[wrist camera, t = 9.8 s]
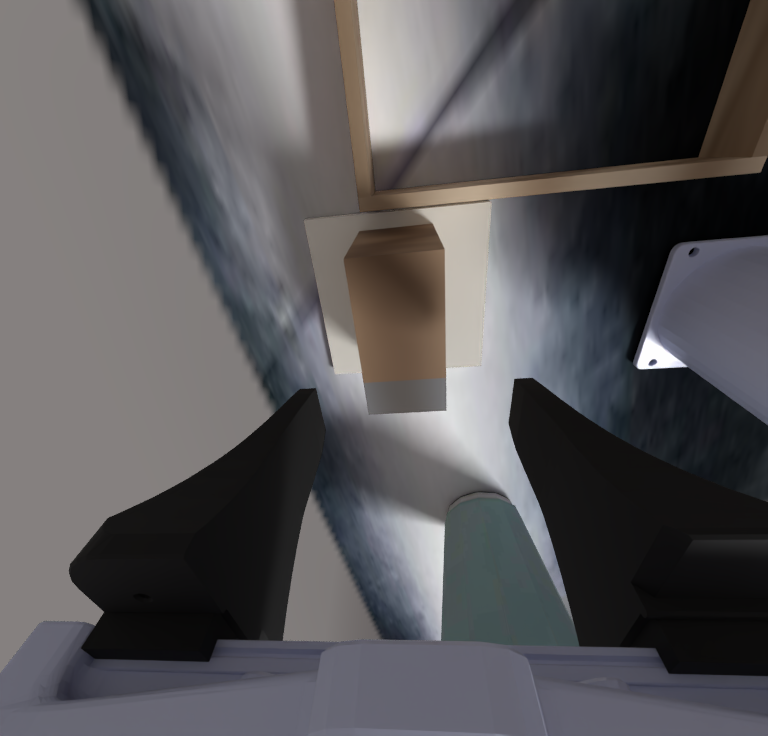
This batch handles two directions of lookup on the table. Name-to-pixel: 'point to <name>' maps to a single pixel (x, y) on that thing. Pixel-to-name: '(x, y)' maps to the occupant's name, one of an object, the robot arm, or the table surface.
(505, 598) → the disposable coffee cup
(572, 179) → the frame
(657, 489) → the robot arm
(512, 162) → the table surface
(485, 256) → the pad
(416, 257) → the block
